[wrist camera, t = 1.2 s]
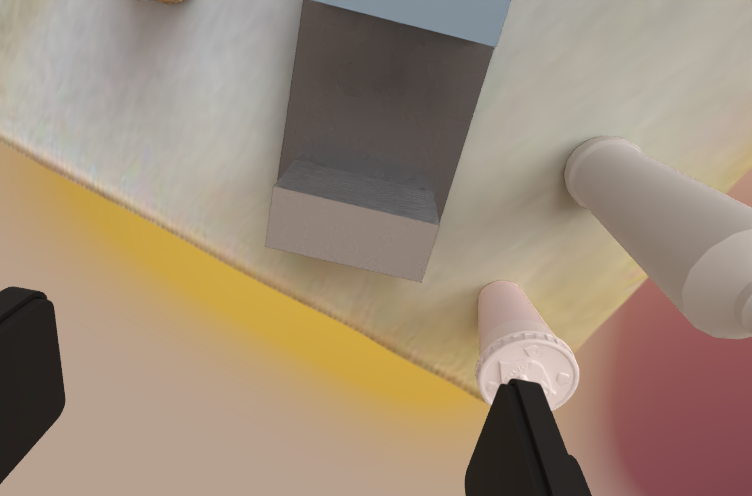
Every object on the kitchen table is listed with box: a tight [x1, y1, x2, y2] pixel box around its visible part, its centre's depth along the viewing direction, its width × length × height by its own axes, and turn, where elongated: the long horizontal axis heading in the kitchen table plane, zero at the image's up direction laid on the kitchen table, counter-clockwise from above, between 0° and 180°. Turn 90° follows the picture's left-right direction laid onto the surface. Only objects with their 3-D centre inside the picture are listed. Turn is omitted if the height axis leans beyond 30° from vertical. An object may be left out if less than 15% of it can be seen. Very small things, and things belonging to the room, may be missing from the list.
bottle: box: [564, 136, 752, 339], centre depth 22 cm, size 5×5×25 cm
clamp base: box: [265, 0, 494, 282], centre depth 27 cm, size 30×12×8 cm, turn 167°
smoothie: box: [475, 280, 579, 411], centre depth 32 cm, size 6×6×14 cm
